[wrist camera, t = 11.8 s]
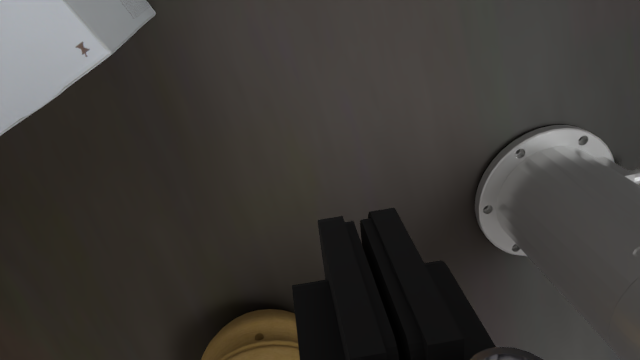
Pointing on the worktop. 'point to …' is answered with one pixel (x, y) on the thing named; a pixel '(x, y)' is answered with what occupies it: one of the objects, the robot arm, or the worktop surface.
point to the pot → (256, 338)
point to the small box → (57, 47)
